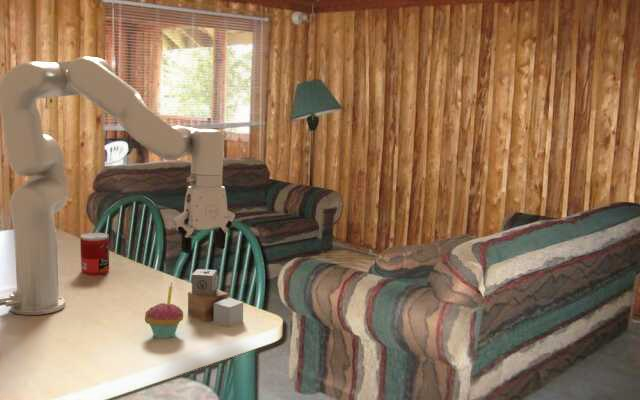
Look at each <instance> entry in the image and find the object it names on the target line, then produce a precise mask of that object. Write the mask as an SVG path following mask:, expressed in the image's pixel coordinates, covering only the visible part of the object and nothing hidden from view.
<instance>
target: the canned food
mask: <svg viewBox="0 0 640 400" xmlns="http://www.w3.org/2000/svg"><path fill="white" fill-rule="evenodd" d="M79 239H80V242H79V243H80V269H81V273H82V274H84V275H87V276H101V275H106V274H107V273H108V272H109V270H110V240H109V239H110V237H109V234H108V233H104V232H89V233H84V234H81V235H80V238H79Z"/></svg>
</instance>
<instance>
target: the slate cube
mask: <svg viewBox="0 0 640 400" xmlns="http://www.w3.org/2000/svg"><path fill="white" fill-rule="evenodd" d="M243 322H244V302H243V301H241V300H236V299H233V298H229V297H228V298H226V299H223V300H221V301H218V302H215V303H214V320H213V324H217V325H220V326H222V327H226V328H232V327H234V326H237V325H238V324H240V323H243Z"/></svg>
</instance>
